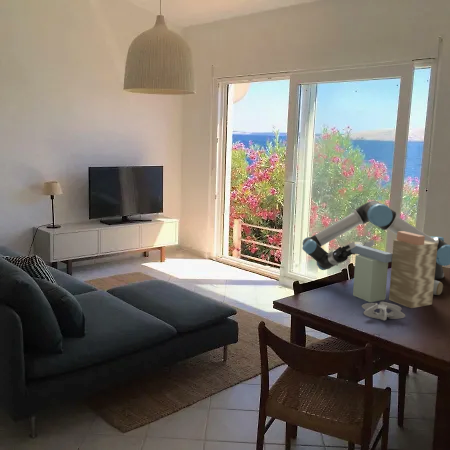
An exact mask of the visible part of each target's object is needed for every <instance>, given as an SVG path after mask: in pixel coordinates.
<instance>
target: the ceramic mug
mask: <svg viewBox="0 0 450 450" xmlns="http://www.w3.org/2000/svg"><path fill="white" fill-rule="evenodd" d="M443 288H444V284H443V282H441V281H439V280H437V279H434V288H433V296H434V295H435V296H440V295H441V294H442V293H443Z"/></svg>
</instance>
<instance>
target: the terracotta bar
mask: <svg viewBox="0 0 450 450" xmlns="http://www.w3.org/2000/svg"><path fill="white" fill-rule="evenodd" d="M396 240H399V241H403V242H407V243H411V244H415V245H424V240H425V236H423V235H418V234H414V233H410V232H405V231H399V232H397V235H396Z"/></svg>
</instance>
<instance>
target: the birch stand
mask: <svg viewBox="0 0 450 450" xmlns="http://www.w3.org/2000/svg"><path fill="white" fill-rule="evenodd" d="M392 244H393V245H392V262H391V270H390V283H389V293H388V296H389V297H388V300H389V301H391V302H394V303H397V304H399V305H401V306H403V307H406V308H409V309H414V308H420V307H425V306H430V305H433V299H434V298H433V297H434V295H433V288H434V280H435V279H434V278H435V267H436V257H437V246H438V243H435V242H431V241H426V240H424V245H415V244H411V243H407V242H403V241H399V240H397V239H393V242H392Z"/></svg>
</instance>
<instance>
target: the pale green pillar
mask: <svg viewBox="0 0 450 450" xmlns="http://www.w3.org/2000/svg"><path fill="white" fill-rule="evenodd" d="M354 261H355V262H354V272H353V273H354V275H353V289H352V296H354V297H357V298H358V299H361V300H363V301H366V302H368V303H375V302H378V301H379V302H381V301H385V300H386V297H387V295H386V293H387V280H388V271H389V270H388V267H389V262H387V263H385V262H381V261H378V260H375V259H372V258H368V257H365V256H362V255H359V254H355V259H354Z"/></svg>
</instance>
